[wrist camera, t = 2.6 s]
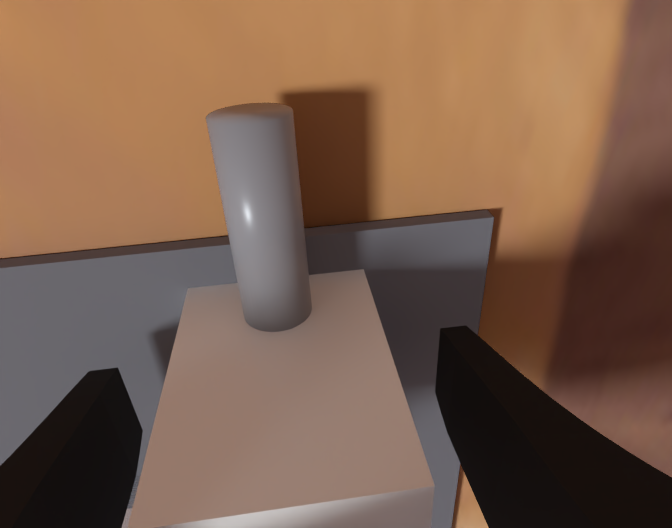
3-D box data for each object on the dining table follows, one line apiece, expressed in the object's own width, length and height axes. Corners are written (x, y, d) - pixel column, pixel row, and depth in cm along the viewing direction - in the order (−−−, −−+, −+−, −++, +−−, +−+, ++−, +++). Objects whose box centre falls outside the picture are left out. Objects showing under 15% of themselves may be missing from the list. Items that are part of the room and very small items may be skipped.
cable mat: (487, 209, 11) (494, 216, 11) (443, 552, 19) (446, 562, 19) (-372, 297, 10) (-395, 309, 9) (-33, 628, 17) (-39, 640, 17)
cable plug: (358, 88, 9) (461, 213, 4) (366, 391, 13) (421, 622, 8) (140, 106, 9) (-11, 262, 4) (220, 410, 13) (192, 661, 8)
